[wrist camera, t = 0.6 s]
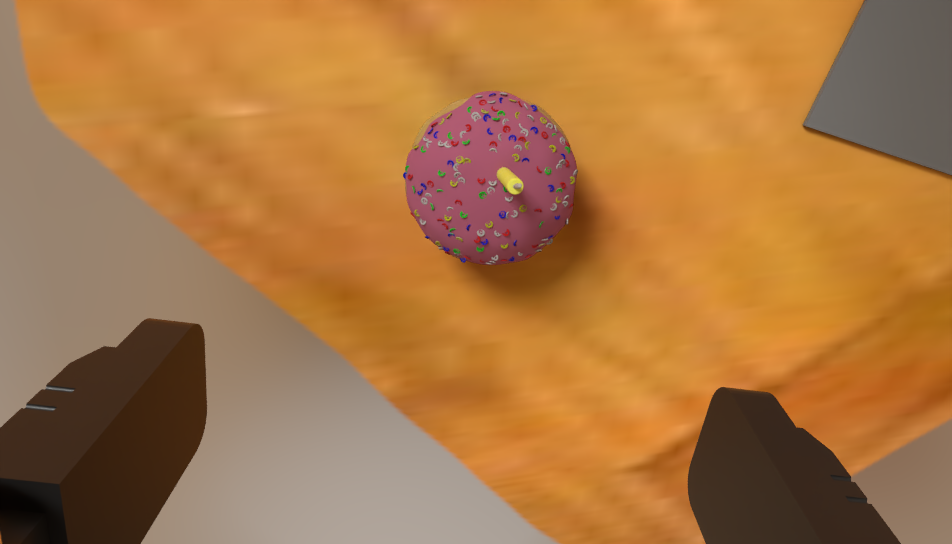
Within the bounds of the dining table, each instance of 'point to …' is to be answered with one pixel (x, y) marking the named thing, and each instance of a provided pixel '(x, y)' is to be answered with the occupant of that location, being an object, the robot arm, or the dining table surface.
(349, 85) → the dining table surface
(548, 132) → the cupcake
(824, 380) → the dining table surface
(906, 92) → the mat
